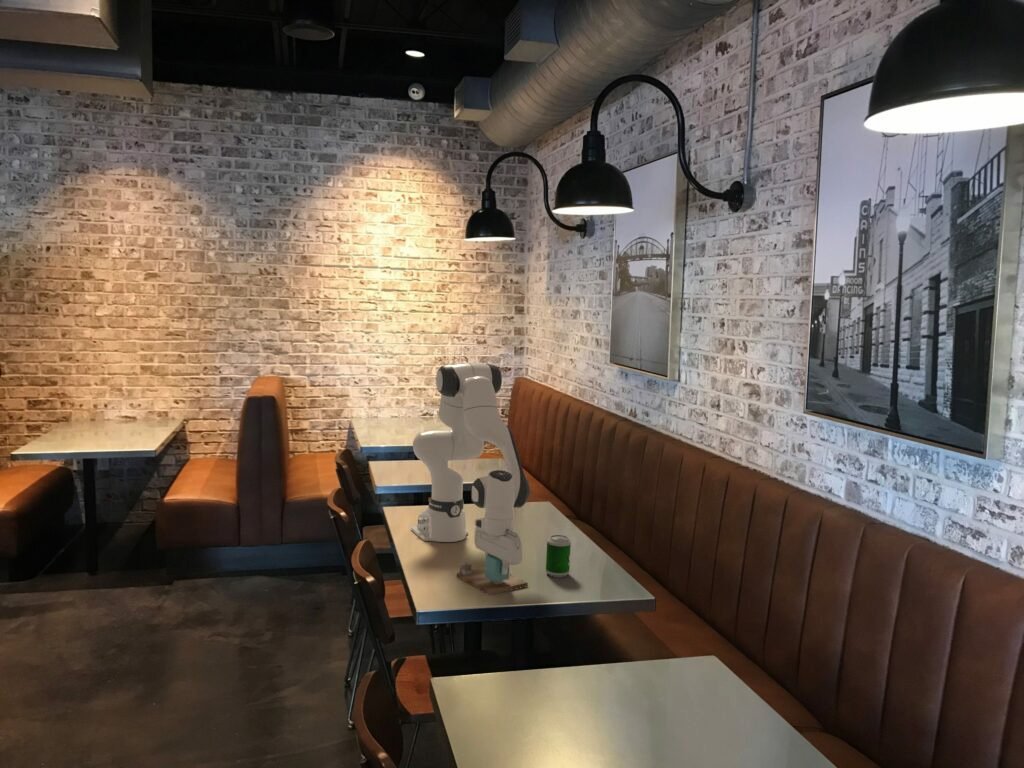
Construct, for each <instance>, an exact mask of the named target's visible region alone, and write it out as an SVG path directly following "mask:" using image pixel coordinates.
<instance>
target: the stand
mask: <svg viewBox="0 0 1024 768" xmlns="http://www.w3.org/2000/svg"><path fill="white" fill-rule="evenodd" d="M472 565H473V564H471V563H469V562H462V563H459V572H456V576H457V578H458V577H459V578H458V579H460V578H461V579H460V580H462V579H463V580H462V581H464V580H465V581H466V582H465V581H464V582H465V583H467V582H468V583H467V584H469V583H470V584H469V585H471V584H472V585H471V586H473V587H474V586H475V587H474V588H476V587H477V588H476V589H478V588H479V589H478V590H480V591H482V590H483V591H484V592H483V591H482V592H483V593H485V592H486V593H485V594H487V593H488V594H487V595H489V594H492V595H494V594H493V593H496V594H499V593H498V592H501V593H503V592H502V591H505V592H509V591H508V590H510V591H512V590H511V589H514V590H517V589H516V588H519V589H521V588H520V587H523V588H526V587H525V586H528V585H529V582H527V581H525V580H524V579H521V578H519V577H517V576H515V575H513V574H511V573H509V579H506V580H502V581H497V582H494V581H492V580H490V579H488V578H486V577H485V566H484V567H479V568H473V569H472Z"/></svg>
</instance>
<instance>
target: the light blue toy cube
mask: <svg viewBox="0 0 1024 768" xmlns="http://www.w3.org/2000/svg"><path fill="white" fill-rule="evenodd" d="M502 566H503V564H502V560H501V559H499V558H496V557H494V556H492V555H486V556H485V565H484V567H485V577H486V578H488V579H490V580H492V581H494V582H497V581H502V580H506V579H509V574H510V566H511V564H510V565H509V567H508V571H507V574H505V575H503V574H501V573H500V568H501V567H502Z"/></svg>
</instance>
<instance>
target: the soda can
mask: <svg viewBox="0 0 1024 768" xmlns="http://www.w3.org/2000/svg"><path fill="white" fill-rule="evenodd" d="M571 543H572V541H571V539H570V538H569V537H568V536H567V535H563V534H553V535H550V536H549V538H547V542H546V557H545V558H546V559H545V560H546V561H545V572H546V573H547V575H548V574H549V575H548V576H550V577H552V576H553V577H552V578H565V577H566V576H567V575H568V574H569V573H570V566H571V548H572V547H571V545H572V544H571Z"/></svg>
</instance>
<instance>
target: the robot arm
mask: <svg viewBox="0 0 1024 768" xmlns="http://www.w3.org/2000/svg"><path fill="white" fill-rule="evenodd" d="M502 384H503V377H502V372H501V369H500V368H499V367H498V366H497V365H495V364H490V363H486V364H484V363H475V362H473V363H472V362H470V363H457V364H451V363H450V364H446V365H445V364H444V365H441V366H440V367H439V368H438V370H437V372H436V376H435V385H436V389H437V391H438V393H439V394H440V399H439V400H440V401H439V408H438V419H439V420H440V422H441V423H442V424H443V425H444V426H446V427H448V428H450V429H433V430H425V431H421V432H418V433H417V434H416V436H414V439H413V442H412V450H413V453H414V455H415V457H416V458H417V459H418V460H420V461H421V462H422V463H423V464H424V466H426V467H427V470H428V471H429V474H430V478H431V497H428V500H427V501H428V502H429V503H428V507H427V508H426V509H424V510H423V511H421V512H420V513H419V514H418V516H417V524H415V525H413V526H411V527H410V531H412V532H413V533H414V534H415V535H416V536H417V537H418V538H419V539H421V540H422V541H426V542H428V541H429V542H438V543H452V542H455V543H456V542H458V541H459V542H460V541H463V540H464V539H466V536H467V535H468V534H469V530H468V529H467V525H466V524H467V523H466V521H467V520H466V513H465V512H466V511H464V510H463V509H464V505H465V503H464V498H463V496H464V495H463V493H464V491H463V489H464V479H463V476H462V475H461V473H459V472H458V471H457V470H454V469H452V468H450V467H449V465H448V464H449V463H448V462H451V461H452V462H453V461H469V460H473V459H478V458H480V457H481V455H482V453H483V452H484V449H485V442H487V443H489V444H492V445H494V446H495V447H497V448H498V450H500V451H501V453H502V457H503V461H504V464H505V467H506V470H500V469H497V470H492V471H490V472H489V473H488V474H487V475H486V476H481V477H477V478H476V479H474V481H473V483H472V484H471V487H470V500H471V502H472V503H473V504H474V505H475V506H476V507H477V508H480V509H484V510H485V513H484V517H481V518H480V517H479V518H476V519H474V525H475V528H474V537H473V538H474V541H473V542H474V546H475V548H476V549H479V550H481V551H482V552H484V553H485V554H484V555H485V557H486V555H492V556H494V557H496V558H499V559H501V560H502V564H503V566H502V567H501V568H500V573H501V574H503V575H505V574H507V571H508V567H509V568H510V566H515V565H519V564H521V563H522V561H523V546H522V545H523V544H522V541H521V538H520V537H519V533H517V532H515V531H514V526H515V524H514V523H515V513H514V508H515V509H516V508H518V509H519V508H522V507H523V506H525V504H526V503H527V502H529V499H530V498H531V487H530V484H529V481H528V478H527V477H526V474H525V472H524V469H523V465H522V462H521V461H522V460H521V457H520V454H519V451H518V446H517V444H516V441H515V437H514V434H513V431H512V429H511V428H510V427H509V426H508V425H506V424H505V423H504V421H503V420H502V417H501V415H500V413H499V405H498V399H497V395H496V394H497V393H499V391H500V390H501V388H502ZM509 565H510V566H509Z"/></svg>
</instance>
